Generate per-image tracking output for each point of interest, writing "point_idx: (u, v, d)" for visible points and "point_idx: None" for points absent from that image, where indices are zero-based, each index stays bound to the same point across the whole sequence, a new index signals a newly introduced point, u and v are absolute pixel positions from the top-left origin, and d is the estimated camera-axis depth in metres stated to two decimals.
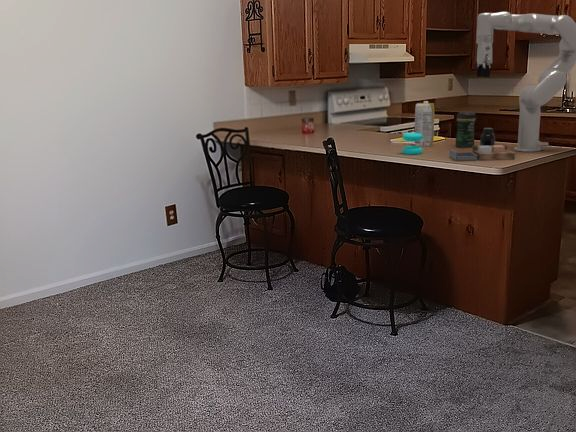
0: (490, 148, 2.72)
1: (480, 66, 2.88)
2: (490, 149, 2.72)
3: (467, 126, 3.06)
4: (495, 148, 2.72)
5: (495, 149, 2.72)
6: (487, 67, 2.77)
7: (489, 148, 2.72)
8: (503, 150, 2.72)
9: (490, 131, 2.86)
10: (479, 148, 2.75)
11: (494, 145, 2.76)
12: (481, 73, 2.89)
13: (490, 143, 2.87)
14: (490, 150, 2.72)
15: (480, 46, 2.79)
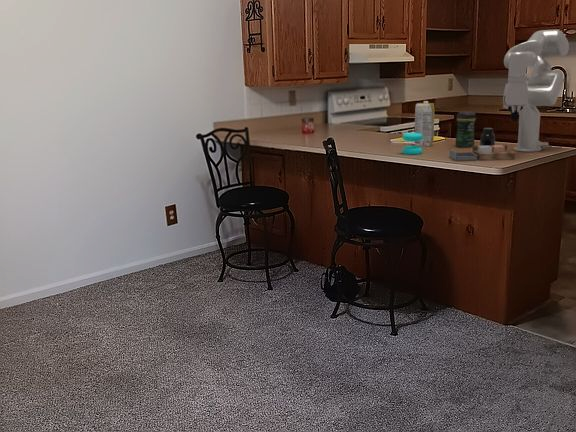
0: (490, 148, 2.72)
1: None
2: (490, 149, 2.72)
3: (467, 126, 3.06)
4: (495, 148, 2.72)
5: (495, 149, 2.72)
6: None
7: (489, 148, 2.72)
8: (503, 150, 2.72)
9: (490, 131, 2.86)
10: (479, 148, 2.75)
11: (494, 145, 2.76)
12: None
13: (490, 143, 2.87)
14: (490, 150, 2.72)
15: (522, 86, 2.65)
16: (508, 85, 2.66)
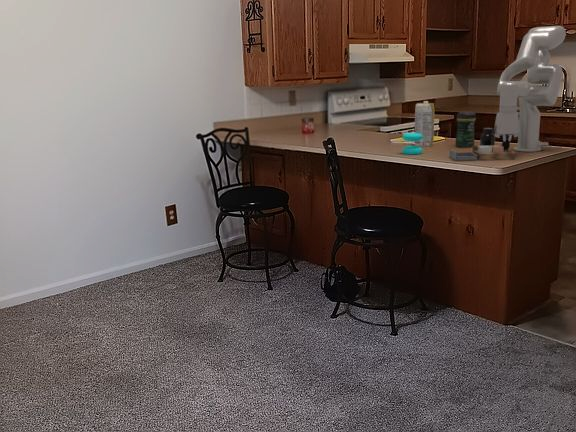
0: (490, 148, 2.72)
1: None
2: (490, 149, 2.72)
3: (467, 126, 3.06)
4: (494, 148, 2.72)
5: (494, 149, 2.72)
6: (509, 140, 2.73)
7: (489, 148, 2.72)
8: (502, 150, 2.72)
9: (490, 131, 2.86)
10: (479, 148, 2.75)
11: (493, 145, 2.76)
12: None
13: (490, 143, 2.87)
14: (490, 150, 2.72)
15: (513, 116, 2.68)
16: (499, 115, 2.69)
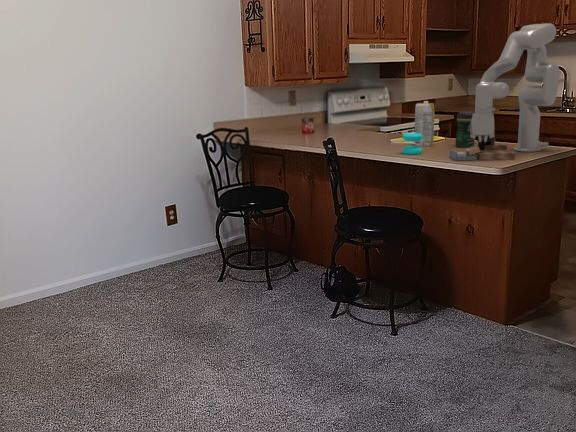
0: None
1: (480, 140, 2.74)
2: None
3: (467, 126, 3.06)
4: (470, 151, 2.73)
5: (470, 152, 2.73)
6: None
7: None
8: (478, 150, 2.73)
9: None
10: None
11: (469, 148, 2.77)
12: None
13: (490, 143, 2.87)
14: None
15: (488, 117, 2.69)
16: (475, 116, 2.69)
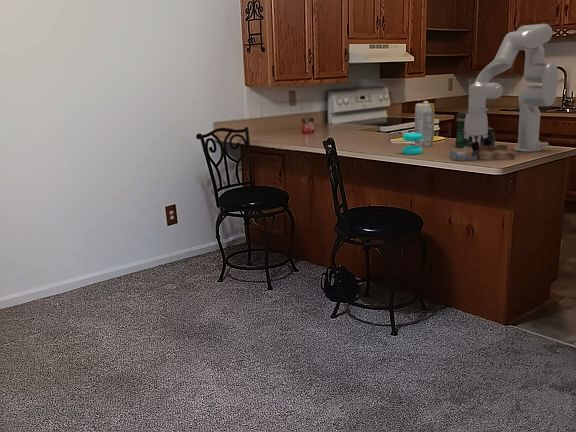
0: None
1: None
2: None
3: None
4: None
5: None
6: (478, 142, 2.74)
7: None
8: (470, 149, 2.73)
9: (490, 131, 2.86)
10: None
11: None
12: None
13: (490, 143, 2.87)
14: None
15: (481, 117, 2.69)
16: (468, 116, 2.70)
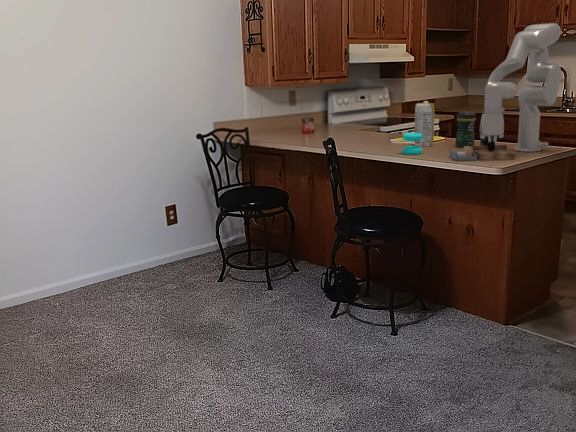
0: None
1: None
2: None
3: (467, 126, 3.06)
4: None
5: None
6: (494, 141, 2.74)
7: None
8: (470, 149, 2.73)
9: None
10: None
11: None
12: None
13: None
14: None
15: (498, 117, 2.69)
16: (484, 116, 2.70)
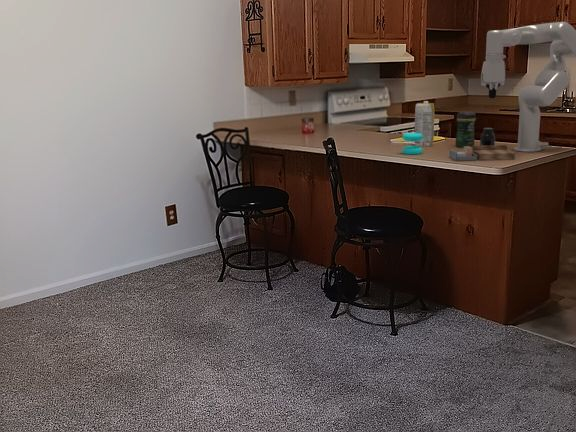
0: None
1: None
2: None
3: (467, 126, 3.06)
4: None
5: None
6: (496, 89, 2.76)
7: None
8: (470, 149, 2.73)
9: (490, 131, 2.86)
10: None
11: None
12: None
13: (490, 143, 2.87)
14: None
15: (499, 64, 2.71)
16: (485, 63, 2.72)
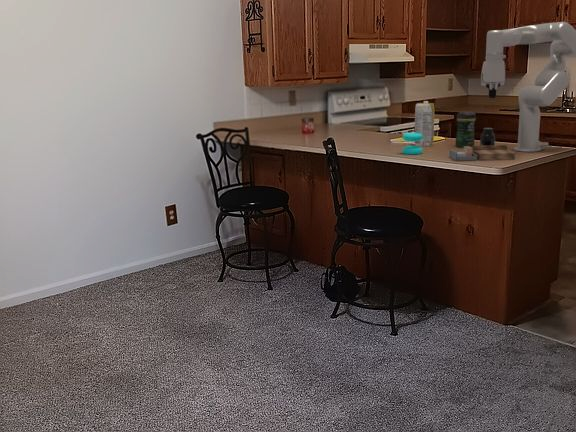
0: None
1: None
2: None
3: (467, 126, 3.06)
4: None
5: None
6: None
7: None
8: (470, 149, 2.73)
9: (490, 131, 2.86)
10: None
11: None
12: None
13: (490, 143, 2.87)
14: None
15: (499, 64, 2.71)
16: (485, 63, 2.72)
